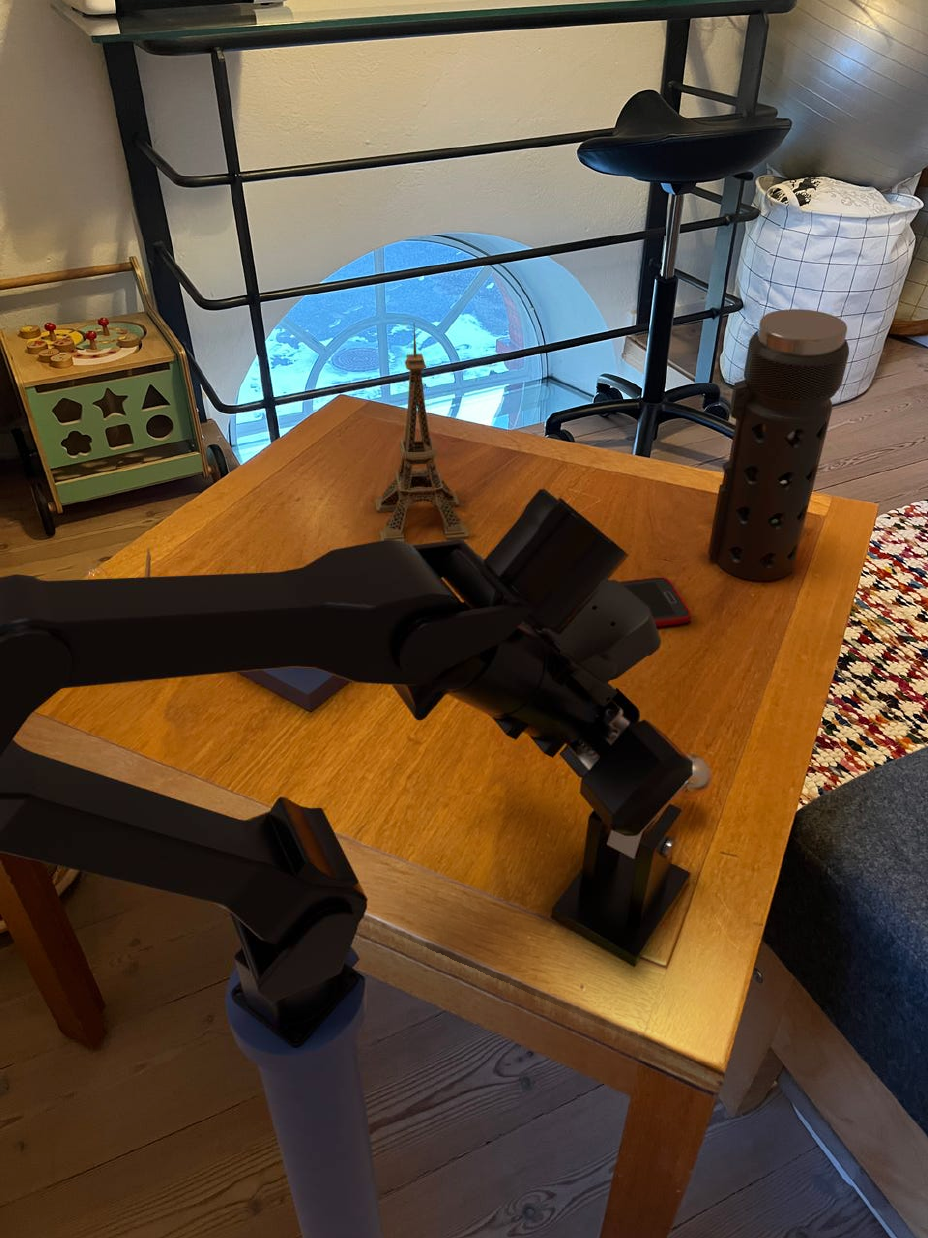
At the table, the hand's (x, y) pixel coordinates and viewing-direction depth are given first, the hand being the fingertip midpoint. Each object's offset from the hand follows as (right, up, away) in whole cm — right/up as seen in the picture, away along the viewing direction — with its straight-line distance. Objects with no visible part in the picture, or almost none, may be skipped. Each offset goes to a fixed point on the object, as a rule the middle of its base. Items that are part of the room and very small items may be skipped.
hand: (631, 742), depth 67 cm
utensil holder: (-45, +5, +26) cm, 52 cm away
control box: (-27, +5, +25) cm, 37 cm away
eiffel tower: (-18, +21, +48) cm, 55 cm away
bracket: (0, -12, +2) cm, 12 cm away
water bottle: (+21, +16, +40) cm, 48 cm away
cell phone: (+4, +10, +32) cm, 34 cm away
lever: (+2, -6, +3) cm, 7 cm away
